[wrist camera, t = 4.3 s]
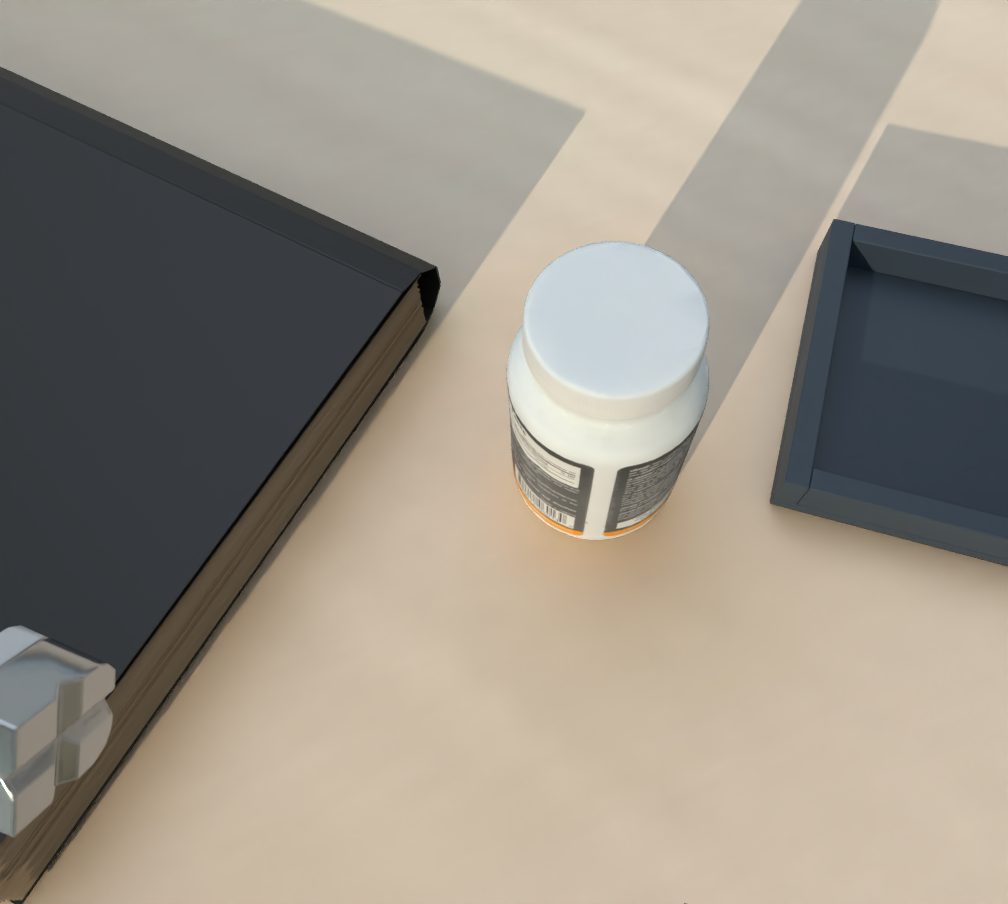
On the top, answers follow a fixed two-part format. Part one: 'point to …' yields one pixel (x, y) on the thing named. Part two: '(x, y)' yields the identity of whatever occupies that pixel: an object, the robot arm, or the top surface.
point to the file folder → (163, 398)
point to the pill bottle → (606, 387)
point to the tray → (902, 392)
